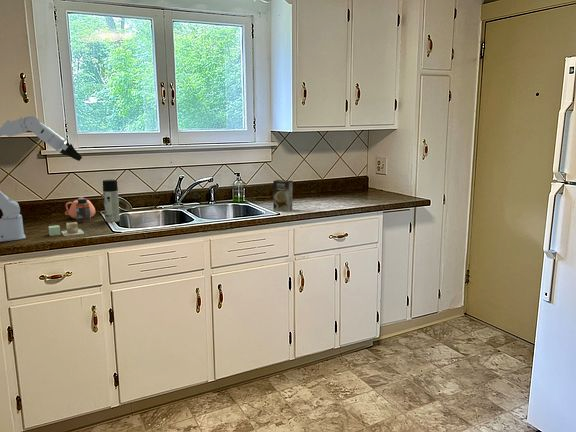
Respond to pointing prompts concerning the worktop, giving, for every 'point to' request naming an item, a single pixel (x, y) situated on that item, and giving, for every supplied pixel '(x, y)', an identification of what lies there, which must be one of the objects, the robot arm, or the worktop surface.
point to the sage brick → (54, 230)
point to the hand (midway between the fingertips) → (79, 158)
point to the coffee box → (282, 195)
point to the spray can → (111, 200)
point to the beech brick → (72, 227)
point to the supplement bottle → (83, 210)
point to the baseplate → (72, 233)
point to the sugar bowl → (73, 211)
